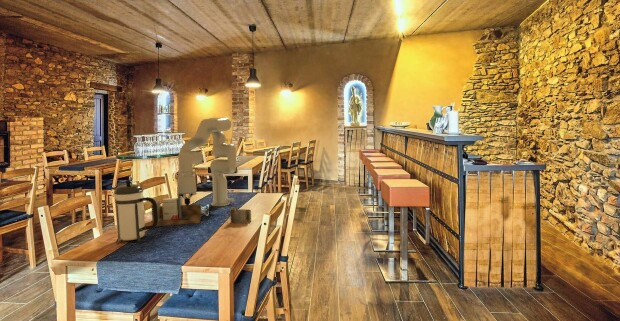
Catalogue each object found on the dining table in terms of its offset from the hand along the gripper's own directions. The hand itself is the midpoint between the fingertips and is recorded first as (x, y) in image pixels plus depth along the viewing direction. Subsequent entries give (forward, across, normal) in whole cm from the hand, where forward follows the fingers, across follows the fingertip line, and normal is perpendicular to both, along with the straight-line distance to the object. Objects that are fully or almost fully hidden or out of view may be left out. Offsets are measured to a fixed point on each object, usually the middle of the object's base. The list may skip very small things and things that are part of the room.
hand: (187, 204), depth 209 cm
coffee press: (+9, +23, +29) cm, 38 cm away
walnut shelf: (+9, +6, 0) cm, 11 cm away
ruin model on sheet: (+10, -30, +13) cm, 34 cm away
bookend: (+7, +2, 0) cm, 8 cm away
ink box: (+8, +9, 0) cm, 12 cm away
